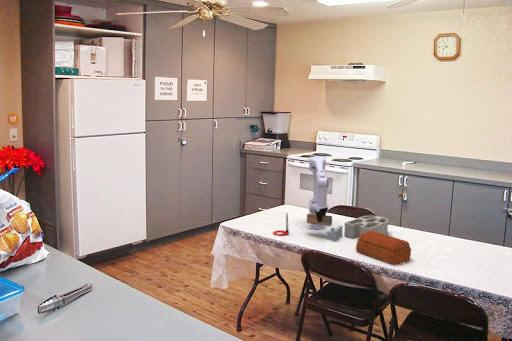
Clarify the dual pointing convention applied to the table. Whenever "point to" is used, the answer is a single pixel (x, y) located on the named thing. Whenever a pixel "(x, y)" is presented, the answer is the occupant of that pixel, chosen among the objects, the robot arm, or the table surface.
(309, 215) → the brown wooden block
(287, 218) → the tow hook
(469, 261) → the table surface
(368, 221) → the grey hollow block
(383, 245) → the bread
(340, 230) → the grey block
